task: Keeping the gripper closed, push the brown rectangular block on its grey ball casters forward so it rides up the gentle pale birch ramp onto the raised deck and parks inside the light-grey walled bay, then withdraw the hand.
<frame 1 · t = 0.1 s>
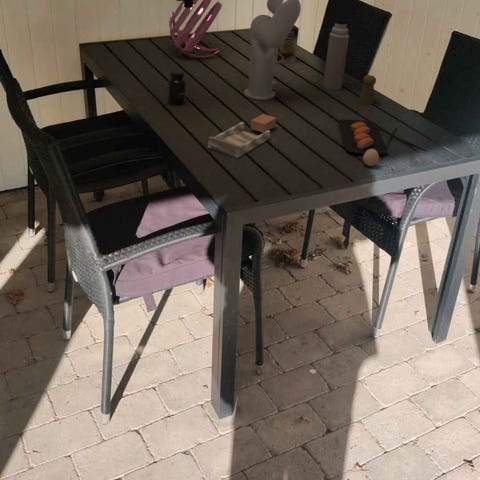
hand: (184, 3, 240), 37 cm above the table, tool pointing down, fingers open, 9 cm apart
egg: (369, 166, 222), on the table
coffee box: (284, 61, 310), on the table
thermos bottle: (332, 87, 285), on the table
brown rectangular block: (262, 129, 242), on the table
spiral basket: (195, 54, 312), on the table
dock: (240, 142, 231), on the table
pepper mill: (365, 102, 271), on the table
supplement bottle: (176, 102, 260), on the table
sushi plate: (382, 142, 240), on the table
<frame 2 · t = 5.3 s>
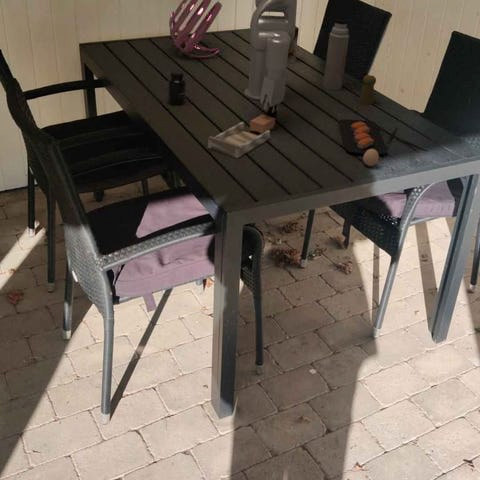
hand: (271, 121, 245), 2 cm above the table, tool pointing down, fingers closed
brown rectangular block: (261, 130, 241), on the table, touching gripper
everything else where it was.
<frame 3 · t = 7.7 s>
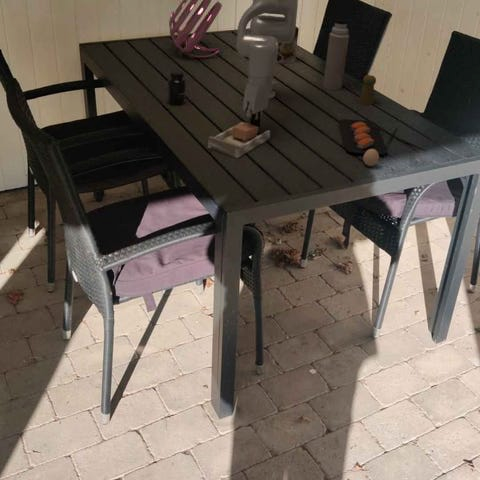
hand: (254, 128, 236), 2 cm above the table, tool pointing down, fingers closed
brown rectangular block: (244, 138, 232), point 1 cm above the table, tilted 6°, touching dock, gripper
everything else where it was.
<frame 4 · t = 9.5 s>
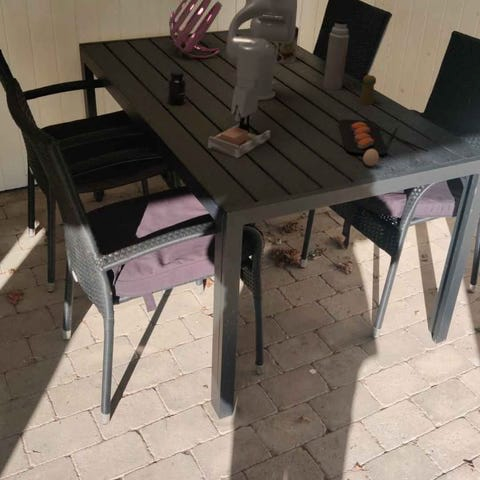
hand: (243, 132, 231), 3 cm above the table, tool pointing down, fingers closed
brown rectangular block: (233, 143, 228), point 1 cm above the table, touching dock, gripper
everything else where it was.
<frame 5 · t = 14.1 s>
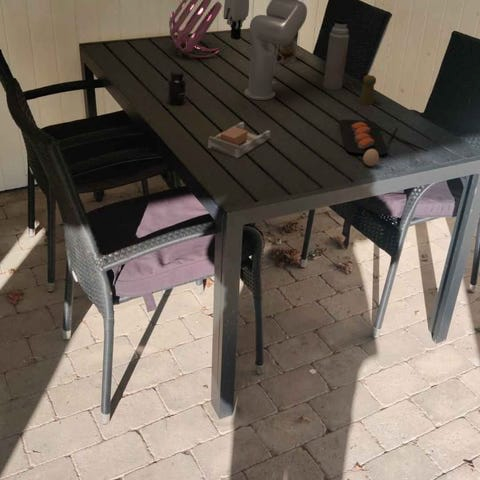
hand: (235, 38, 242), 27 cm above the table, tool pointing down, fingers closed
brown rectangular block: (233, 143, 227), point 1 cm above the table, touching dock
everything else where it was.
at the end: brown rectangular block inside the target area on the dock (0.8 cm from its centre), point 1.1 cm above the dock's base; brown rectangular block tilted 0°; brown rectangular block moved 19.0 cm from its start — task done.
